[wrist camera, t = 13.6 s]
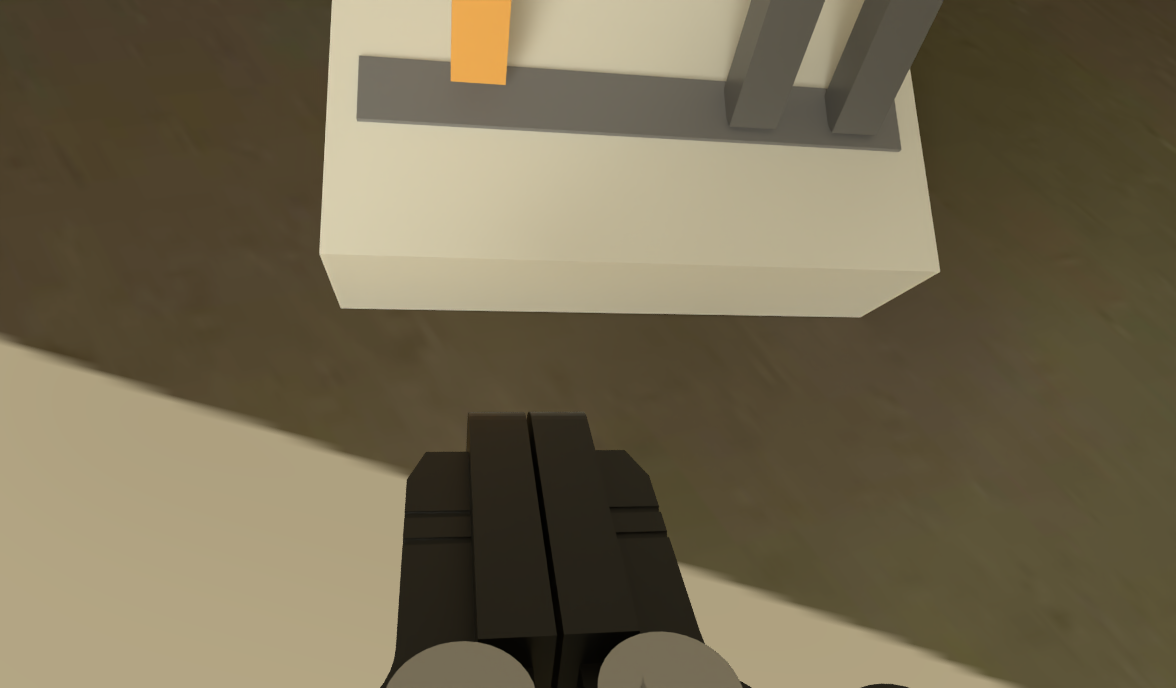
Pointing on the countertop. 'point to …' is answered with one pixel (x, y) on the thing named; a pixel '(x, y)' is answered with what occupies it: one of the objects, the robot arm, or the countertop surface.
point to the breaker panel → (629, 159)
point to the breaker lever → (480, 40)
